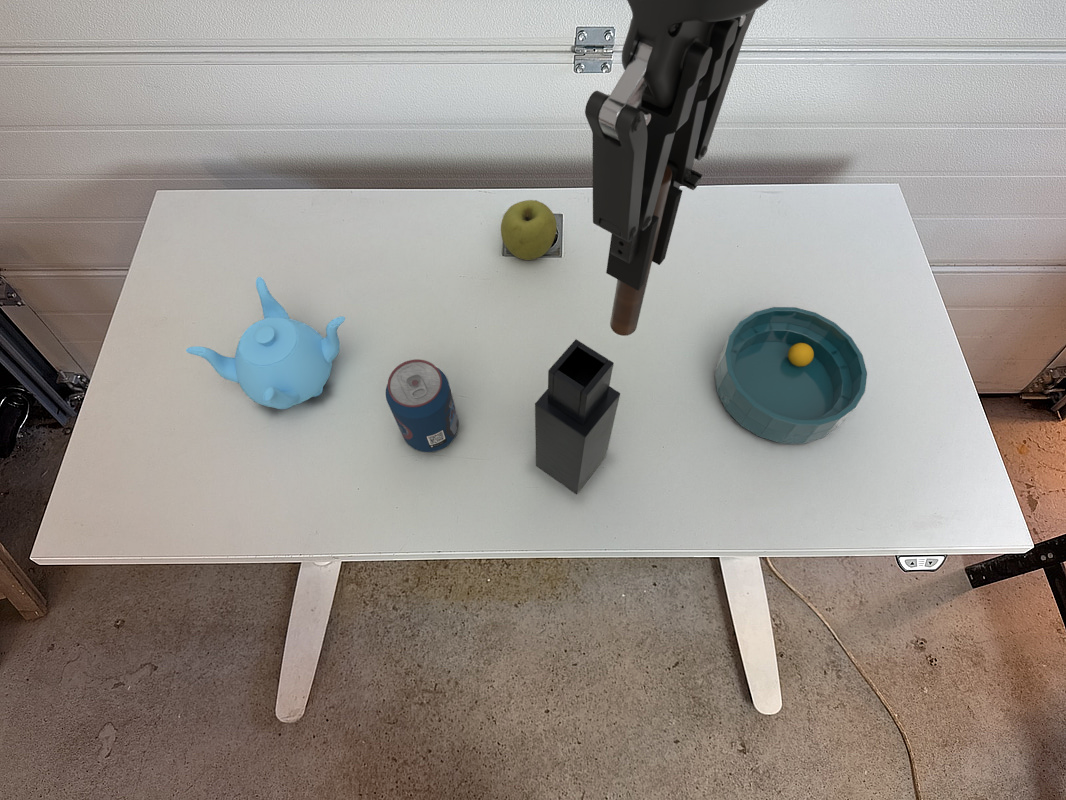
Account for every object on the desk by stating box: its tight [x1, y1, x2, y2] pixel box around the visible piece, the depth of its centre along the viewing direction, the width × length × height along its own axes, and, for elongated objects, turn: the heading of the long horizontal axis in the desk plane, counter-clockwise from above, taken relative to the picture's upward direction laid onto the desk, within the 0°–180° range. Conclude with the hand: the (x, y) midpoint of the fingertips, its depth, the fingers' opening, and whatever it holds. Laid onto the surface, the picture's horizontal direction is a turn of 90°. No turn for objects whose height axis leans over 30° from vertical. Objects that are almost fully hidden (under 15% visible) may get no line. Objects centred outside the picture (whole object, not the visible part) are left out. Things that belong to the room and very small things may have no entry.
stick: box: [609, 165, 672, 337], centre depth 45 cm, size 2×2×16 cm
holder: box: [534, 338, 621, 495], centre depth 66 cm, size 6×6×22 cm
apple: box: [500, 199, 558, 261], centre depth 88 cm, size 8×8×7 cm
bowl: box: [714, 306, 868, 445], centre depth 77 cm, size 16×16×6 cm
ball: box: [788, 343, 814, 367], centre depth 80 cm, size 3×3×3 cm
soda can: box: [385, 358, 460, 453], centre depth 72 cm, size 7×7×12 cm
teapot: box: [185, 276, 346, 410], centre depth 77 cm, size 13×13×10 cm
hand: (635, 265), depth 46 cm, fingers closed on stick, 2 cm apart
